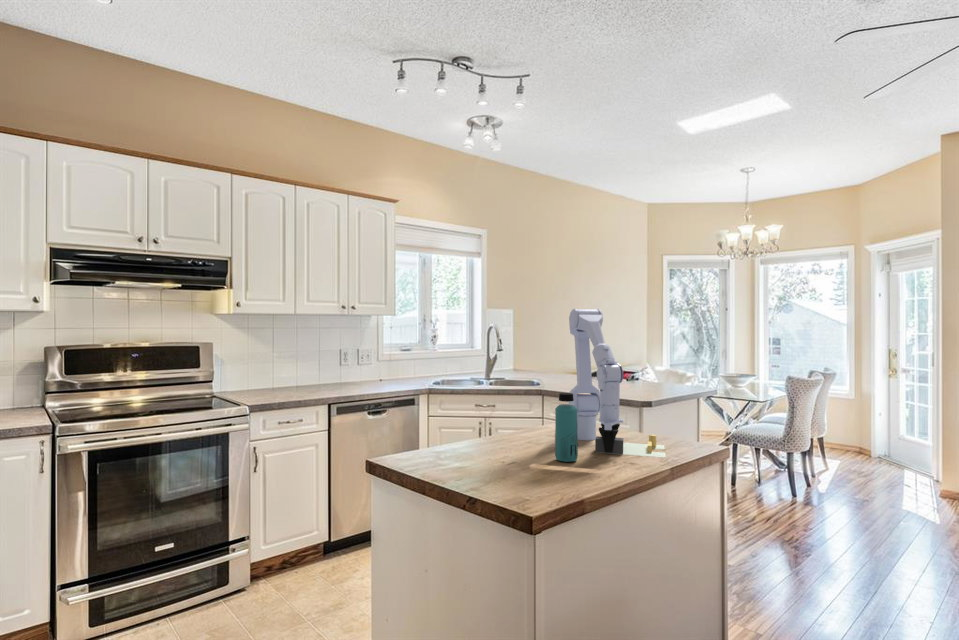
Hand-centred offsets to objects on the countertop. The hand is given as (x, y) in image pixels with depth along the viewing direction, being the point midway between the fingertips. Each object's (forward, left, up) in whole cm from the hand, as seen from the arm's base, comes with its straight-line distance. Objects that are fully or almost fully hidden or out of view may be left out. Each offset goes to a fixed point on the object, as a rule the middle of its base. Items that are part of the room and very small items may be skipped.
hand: (609, 449), depth 166 cm
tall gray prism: (0, 0, -1) cm, 1 cm away
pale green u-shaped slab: (+6, +6, -2) cm, 9 cm away
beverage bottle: (-11, -14, -2) cm, 18 cm away
